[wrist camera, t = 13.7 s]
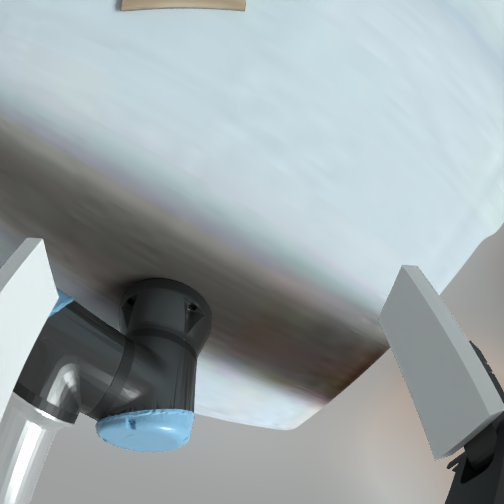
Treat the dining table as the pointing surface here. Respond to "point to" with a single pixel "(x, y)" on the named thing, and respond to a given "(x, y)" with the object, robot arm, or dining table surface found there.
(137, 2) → the post board
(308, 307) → the dining table surface
